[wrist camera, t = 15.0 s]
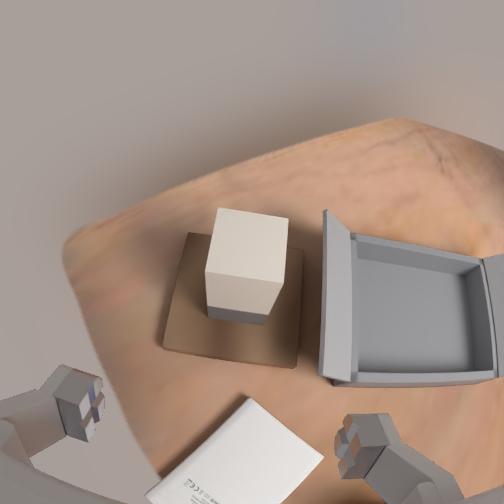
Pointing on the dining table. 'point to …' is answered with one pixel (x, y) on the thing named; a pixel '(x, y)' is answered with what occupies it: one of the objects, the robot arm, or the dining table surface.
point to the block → (245, 265)
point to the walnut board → (229, 332)
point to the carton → (407, 313)
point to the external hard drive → (240, 463)
